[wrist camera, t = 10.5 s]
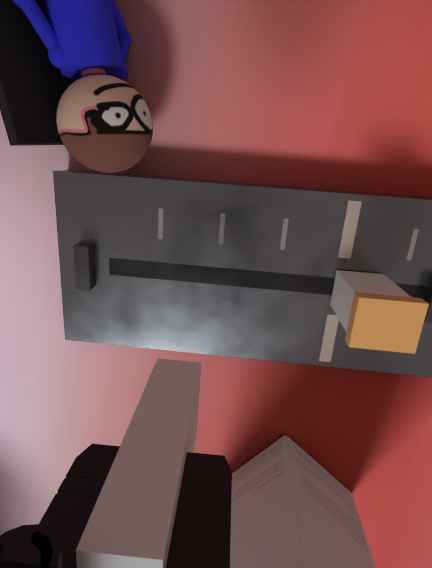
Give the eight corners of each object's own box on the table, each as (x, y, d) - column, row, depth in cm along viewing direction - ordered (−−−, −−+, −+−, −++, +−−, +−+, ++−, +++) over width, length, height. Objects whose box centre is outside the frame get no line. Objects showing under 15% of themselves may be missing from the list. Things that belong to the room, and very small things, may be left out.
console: (77, 328, 29) (58, 346, 26) (67, 170, 25) (44, 171, 22) (439, 364, 27) (461, 387, 25) (488, 202, 24) (521, 208, 21)
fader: (326, 306, 24) (348, 347, 19) (333, 266, 24) (359, 297, 18) (378, 311, 24) (415, 353, 19) (387, 271, 23) (428, 303, 18)
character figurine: (127, -116, 20) (167, 166, 25) (-1, -98, 21) (63, 178, 25) (74, -275, 13) (145, 169, 18) (-124, -244, 13) (-1, 185, 18)
